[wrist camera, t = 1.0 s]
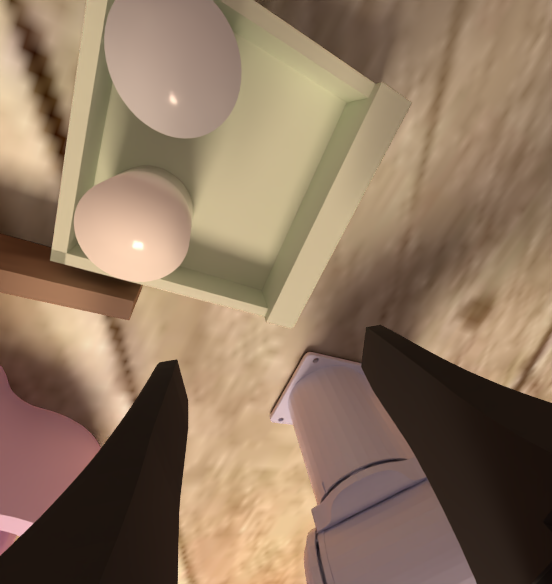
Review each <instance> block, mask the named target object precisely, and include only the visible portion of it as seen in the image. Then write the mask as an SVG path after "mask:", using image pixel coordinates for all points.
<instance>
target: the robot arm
mask: <svg viewBox="0 0 552 584" xmlns="http://www.w3.org/2000/svg"><path fill="white" fill-rule="evenodd" d="M315 358H317V359H315ZM314 359H315V360H314ZM270 420H271V421H272V422H274V423H283V424H291V425H293V426H294V429H295V433H296V436H297V439H298V443H299V446H300V449H301V452H302V456H303V459H304V462H305V465H306V469H307V472H308V475H309V479H310V482H311V485H312V488H313V492H314V495H315V498H316V502H317V506H316V507H314V508H312V510H311V511H312V515H313V518H314V522H315V526H316V528H314V529H312V530H311V531H310V532H309V533H308V536H307V541H306V547H305V551H304V567H305V575H306V581H307V584H552V403H550V402H547V401H544V400H541V399H538V398H535V397H532V396H529V395H527V394H524V393H521V392H518V391H515V390H513V389H510V388H507V387H505V386H502V385H500V384H497V383H495V382H492V381H490V380H488V379H485V378H483V377H480V376H478V375H476V374H474V373H471V372H469V371H467V370H465V369H463V368H461V367H459V366H457V365H455V364H452V363H450V362H448V361H446V360H444V359H442V358H441V357H439V356H437V355H435V354H433V353H431V352H429V351H427V350H426V349H424V348H422V347H420V346H418V345H416V344H415V343H413V342H411V341H409V340H408V339H406V338H404V337H402V336H400V335H399V334H397V333H395V332H393V331H391V330H389V329H388V328H386V327H384V326H382V325H377V326H371V327H366V333H365V341H364V348H363V356H362V363H358V362H353V361H349V360H345V359H340V358H336V357H332V356H327V355H323V354H318V353H314V352H308V353H306V354H305V355H304V357H303V358H302V360H301V362H300V364H299V365H298V367H297V369H296V371H295V372H294V374H293V376H292V378H291V380H290V381H289V383H288V385H287V387H286V388H285V390H284V392H283V394H282V395H281V397H280V399H279V401H278V402H277V404H276V406H275V408H274V409H273V411H272V413H271V415H270ZM187 434H188V398H187V394H186V391H185V387H184V383H183V379H182V376H181V372H180V368H179V365H178V361H177V360H171V361H165V362H160V363H158V365H157V366H156V368H155V369H154V371H153V373H152V374H151V376H150V378H149V379H148V381H147V383H146V384H145V386H144V388H143V389H142V391H141V392H140V394H139V396H138V397H137V399H136V400H135V402H134V403H133V405H132V406H131V408H130V409H129V411H128V412H127V414H126V415H125V417H124V418H123V419H122V421H121V422H120V424H119V425H118V426H117V428H116V429H115V430H114V432H113V433H112V434H111V436H110V437H109V439H108V440H107V441H106V443H105V444H104V445H103V446H102V448H101V449H100V450H99V451H98V453H97V454H96V455H95V456H94V458H93V459H92V460H91V461H90V462H89V464H88V465H87V466H86V467H85V468H84V470H83V471H82V472H81V473H80V474H79V475H78V477H77V478H76V479H75V480H74V481H73V482H72V483H71V484H70V485H69V487H68V488H67V489H66V490H65V491H64V492H63V493H62V494H61V495H60V496H59V497H58V499H57V500H56V501H55V502H54V503H53V504H52V505H51V506H50V507H49V508H48V509H47V510H46V511H45V512H44V513H43V514H42V515H41V516H40V518H38V519H37V520H36V521H35V522H34V523H33V524H32V525H31V526H30V527H29V528H28V529H27V530H26V531H25V532H24V533H23V534H22V535H21V536H20V537H19V538H18V539H17V540H16V541H15V542H14V543H13V544H12V545H11V546H10V547H9V548H8V549H7V550H6V551H5V552H4V553H2V554H1V555H0V584H178V536H179V507H180V495H181V486H182V477H183V469H184V460H185V452H186V443H187Z"/></svg>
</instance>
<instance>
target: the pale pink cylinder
mask: <svg viewBox="0 0 552 584" xmlns="http://www.w3.org/2000/svg"><path fill="white" fill-rule="evenodd" d="M192 220H193V202H192V199H191V196H190V193H189V191H188V190H187V188H186V186H185V185H184V184H183V182H182V181H181V180H180V179H179V178H177V177H176V176H175V175H174V174H172V173H171V172H169V171H167V170H165V169H163V168H160V167H156V166H149V165H143V166H136V167H133V168H130V169H128V170H126V171H124V172H122V173H120V174H118V175H116V176H113V177H111V178H109V179H107V180H105V181H103V182H101V183H99V184H97V185H95V186H93V187H92V188H91V189H89V190H88V191H87V192H86V193H85V194H84V195H83V196H82V198H81V199H80V201H79V203H78V205H77V207H76V211H75V215H74V230H75V235H76V238H77V241H78V243H79V245H80V247H81V249H82V251H83V252H84V253H85V255H86V256H87V257H88V258H89V259H90V261H91V262H92V263H94V264H95V265H96V266H97V267H98V268H100V269H101V270H103V271H104V272H106V273H108V274H109V275H112V276H114V277H116V278H119V279H123V280H127V281H133V282H147V281H153V280H157V279H160V278H163V277H165V276H167V275H169V274H170V273H172V272H173V271H174V270H175V269H177V268H178V267H179V265H180V264H181V263H182V262H183V260H184V258H185V256H186V254H187V251H188V248H189V242H190V234H191V227H192Z"/></svg>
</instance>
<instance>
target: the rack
mask: <svg viewBox="0 0 552 584" xmlns="http://www.w3.org/2000/svg"><path fill="white" fill-rule="evenodd" d="M51 250H52V248H51V247H47V246H44V245H40V244H37V243H33V242H29V241H26V240H22V239H19V238H15V237H11V236H8V235H4V234H0V292H1V293H6V294H10V295H15V296H20V297H24V298H29V299H33V300H38V301H43V302H47V303H52V304H56V305H61V306H66V307H70V308H75V309H79V310H84V311H89V312H93V313H98V314H102V315H107V316H112V317H116V318H121V319H125V320H129V319H130V317H131V314H132V312H133V309H134V307H135V304H136V302H137V299H138V297H139V294H140V292H141V289H142V286H143V285H141V284H137V283H134V282H130V281H126V280H122V279H118V278H114V277H111V276H107V275H103V274H99V273H95V272H92V271H88V270H84V269H80V268H76V267H73V266H69V265H65V264H61V263H57V262H54V261H50V257H51Z"/></svg>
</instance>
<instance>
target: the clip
mask: <svg viewBox="0 0 552 584" xmlns="http://www.w3.org/2000/svg"><path fill="white" fill-rule="evenodd" d="M99 450H100V446H99V444H98V442H97V440H96V439H95V437H94V436H93V435H92V434H91V433H90V432H89V431H88V430H87V429H86V428H85V427H83V426H82V425H81V424H79V423H78V422H76V421H74V420H72V419H70V418H68V417H66V416H64V415H62V414H59V413H56V412H53V411H50V410H47V409H43V408H39V407H36V406H33V405H31V404H29V403H27V402H25V401H23V400H22V399H20V398H19V397H18V396H17V395H16V394H15V393H14V392H13V391H12V390H11V388H10V386H9V383H8V379H7V376H6V374H5V372H4V370H3V368H2V367H1V365H0V555H1V554H2V553H4V552H5V551H6V550H7V549H8V548H9V547H10V546H11V545H12V544H13V543H14V541H15V538H16V536H17V535H18V536H21V535H22V534H23V533H24V532H25V531H26V530H27V529H28V528H29V527H30V526H31V525H32V524H33V523H34V522H35V521H36V520H37V519H38V518H40V516H41V515H42V514H43V513H44V512H45V511H46V510H47V509H48V508H49V507H50V506H51V505H52V504H53V503H54V502H55V501H56V500H57V499H58V497H59V496H60V495H61V494H62V493H63V492H64V491H65V490H66V489H67V488H68V487H69V485H70V484H71V483H72V482H73V481H74V480H75V479H76V478H77V477H78V475H79V474H80V473H81V472H82V471H83V470H84V468H85V467H86V466H87V465H88V464H89V462H90V461H91V460H92V459H93V458H94V456H95V455H96V454H97V453H98V451H99Z"/></svg>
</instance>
